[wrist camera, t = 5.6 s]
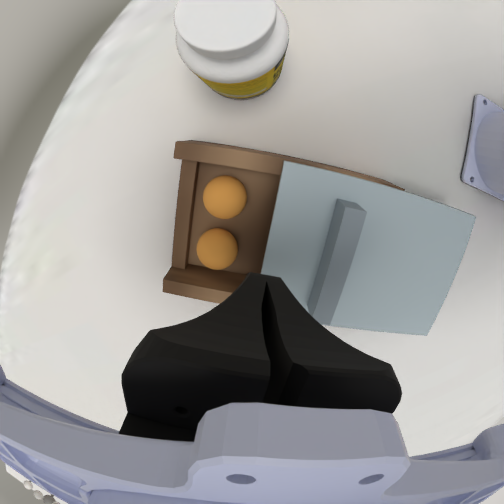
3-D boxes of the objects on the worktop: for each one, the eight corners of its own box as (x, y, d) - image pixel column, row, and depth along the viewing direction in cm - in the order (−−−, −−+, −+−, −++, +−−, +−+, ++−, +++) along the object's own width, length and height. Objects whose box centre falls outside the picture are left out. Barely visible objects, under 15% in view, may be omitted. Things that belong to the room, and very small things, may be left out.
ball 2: (242, 226, 21) (239, 240, 18) (236, 262, 22) (232, 280, 19) (203, 219, 21) (194, 232, 18) (199, 255, 22) (190, 272, 19)
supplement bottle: (286, 97, 18) (303, 63, 9) (207, 105, 18) (157, 82, 9) (278, 28, 16) (285, -44, 7) (200, 37, 16) (153, -24, 7)
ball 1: (251, 176, 19) (249, 183, 17) (244, 216, 20) (241, 228, 18) (210, 169, 19) (201, 175, 17) (205, 209, 20) (195, 220, 18)
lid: (471, 214, 16) (492, 226, 14) (423, 331, 20) (436, 351, 17) (283, 160, 16) (287, 164, 13) (252, 309, 20) (250, 332, 17)
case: (383, 179, 20) (405, 189, 16) (346, 298, 23) (358, 324, 20) (191, 140, 19) (175, 141, 16) (177, 268, 23) (162, 291, 20)
